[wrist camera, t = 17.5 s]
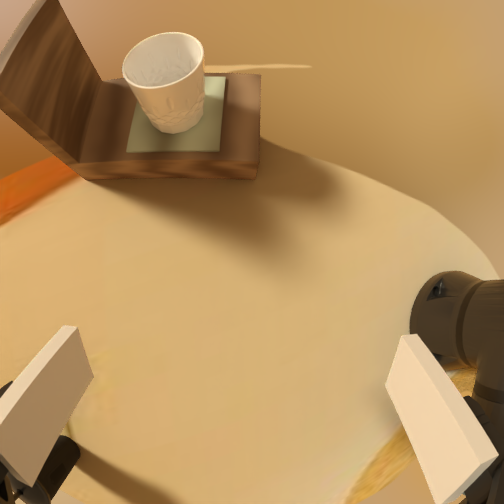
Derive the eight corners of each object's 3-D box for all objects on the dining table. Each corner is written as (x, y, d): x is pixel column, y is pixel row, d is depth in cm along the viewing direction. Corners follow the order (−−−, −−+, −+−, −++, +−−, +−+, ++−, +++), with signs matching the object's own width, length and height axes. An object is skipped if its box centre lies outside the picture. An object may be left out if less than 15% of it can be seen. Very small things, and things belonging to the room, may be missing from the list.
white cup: (217, 91, 33) (214, 35, 23) (198, 144, 32) (187, 93, 22) (158, 83, 33) (142, 30, 23) (135, 133, 32) (108, 85, 22)
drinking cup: (55, 418, 33) (-23, 472, 13) (94, 450, 33) (31, 522, 13) (43, 444, 32) (-25, 498, 12) (79, 474, 32) (23, 541, 12)
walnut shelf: (257, 99, 40) (278, -37, 17) (255, 179, 39) (284, 49, 15) (103, 104, 39) (38, -4, 15) (85, 179, 37) (-20, 91, 14)
